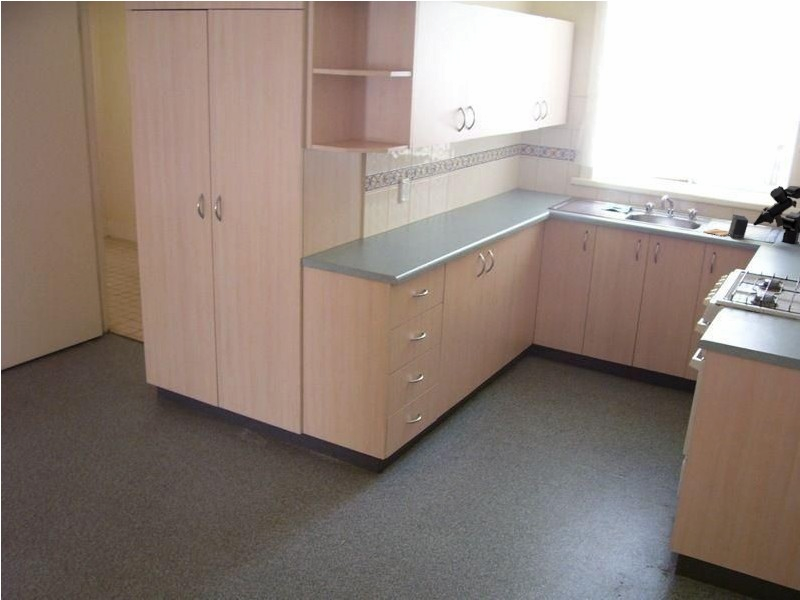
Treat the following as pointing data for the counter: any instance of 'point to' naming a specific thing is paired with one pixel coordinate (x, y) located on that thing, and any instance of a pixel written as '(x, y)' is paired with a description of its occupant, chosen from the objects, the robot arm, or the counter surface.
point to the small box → (738, 226)
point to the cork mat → (717, 232)
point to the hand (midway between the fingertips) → (753, 225)
